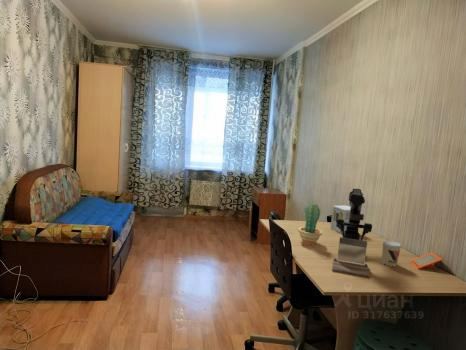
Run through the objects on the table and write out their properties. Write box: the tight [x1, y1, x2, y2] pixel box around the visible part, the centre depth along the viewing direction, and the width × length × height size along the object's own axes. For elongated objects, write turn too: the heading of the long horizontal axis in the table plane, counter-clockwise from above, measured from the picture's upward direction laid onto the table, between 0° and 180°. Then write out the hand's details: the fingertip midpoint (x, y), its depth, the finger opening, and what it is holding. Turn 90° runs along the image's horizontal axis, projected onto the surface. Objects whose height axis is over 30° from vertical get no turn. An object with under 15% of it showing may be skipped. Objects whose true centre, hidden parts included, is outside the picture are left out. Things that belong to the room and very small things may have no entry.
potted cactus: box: [297, 202, 323, 246], centre depth 231 cm, size 15×15×25 cm
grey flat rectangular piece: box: [336, 236, 368, 265], centre depth 197 cm, size 12×14×2 cm
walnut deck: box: [331, 257, 370, 279], centre depth 192 cm, size 14×18×2 cm
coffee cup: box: [381, 240, 402, 267], centre depth 205 cm, size 9×9×12 cm
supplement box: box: [330, 204, 351, 234], centre depth 266 cm, size 13×13×18 cm
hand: (352, 239), depth 199 cm, fingers open, 9 cm apart
